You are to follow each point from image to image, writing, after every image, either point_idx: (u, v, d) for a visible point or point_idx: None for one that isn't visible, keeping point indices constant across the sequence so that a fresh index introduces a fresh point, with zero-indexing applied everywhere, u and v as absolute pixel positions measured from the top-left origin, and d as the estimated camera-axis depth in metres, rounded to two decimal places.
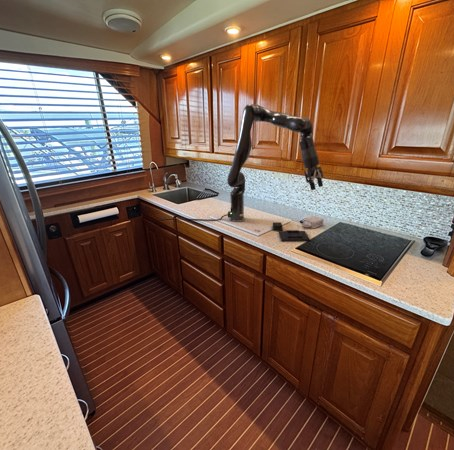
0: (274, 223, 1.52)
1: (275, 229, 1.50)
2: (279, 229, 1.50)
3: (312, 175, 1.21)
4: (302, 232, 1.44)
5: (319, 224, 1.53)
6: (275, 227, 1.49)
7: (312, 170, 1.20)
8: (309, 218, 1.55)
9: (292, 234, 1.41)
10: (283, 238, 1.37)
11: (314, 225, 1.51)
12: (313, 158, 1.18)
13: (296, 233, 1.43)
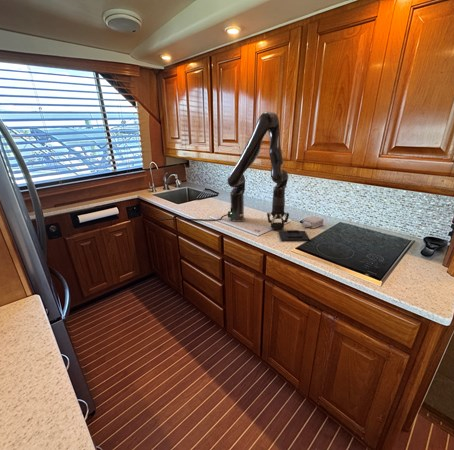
0: (274, 223, 1.52)
1: (275, 229, 1.50)
2: (279, 229, 1.50)
3: (273, 217, 1.49)
4: (302, 232, 1.44)
5: (319, 224, 1.53)
6: (275, 227, 1.49)
7: (273, 213, 1.48)
8: (309, 218, 1.55)
9: (292, 234, 1.41)
10: (283, 238, 1.37)
11: (314, 225, 1.51)
12: (275, 206, 1.44)
13: (296, 233, 1.43)
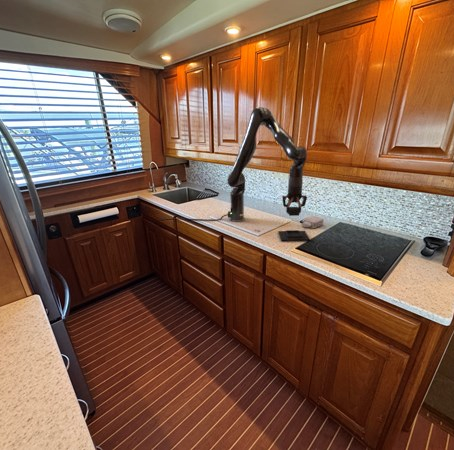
0: (290, 207, 1.37)
1: (291, 214, 1.34)
2: (296, 214, 1.34)
3: (289, 200, 1.34)
4: (302, 232, 1.44)
5: (319, 224, 1.53)
6: (291, 212, 1.34)
7: (289, 196, 1.32)
8: (309, 218, 1.55)
9: (292, 234, 1.41)
10: (283, 238, 1.37)
11: (314, 225, 1.51)
12: (291, 187, 1.29)
13: (296, 233, 1.43)
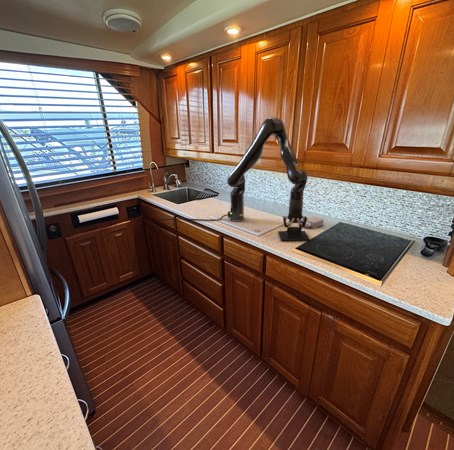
0: (290, 228, 1.40)
1: (292, 234, 1.38)
2: (296, 235, 1.38)
3: (290, 221, 1.37)
4: (302, 232, 1.44)
5: (319, 224, 1.53)
6: (292, 232, 1.37)
7: (290, 217, 1.35)
8: (309, 218, 1.55)
9: None
10: (283, 238, 1.37)
11: (314, 225, 1.51)
12: (292, 209, 1.32)
13: None
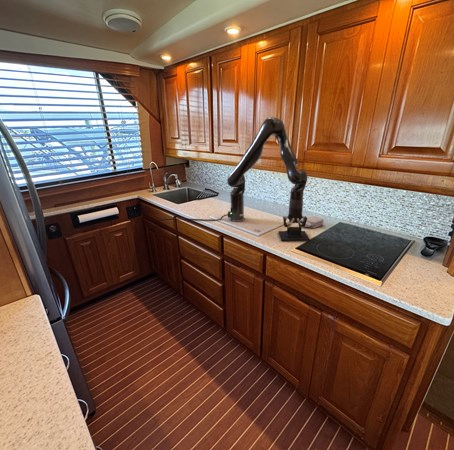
0: (290, 228, 1.40)
1: (292, 234, 1.38)
2: (296, 235, 1.38)
3: (290, 221, 1.37)
4: (302, 232, 1.44)
5: (319, 224, 1.53)
6: (292, 232, 1.37)
7: (290, 217, 1.35)
8: (309, 218, 1.55)
9: None
10: (283, 238, 1.37)
11: (314, 225, 1.51)
12: (292, 209, 1.32)
13: None
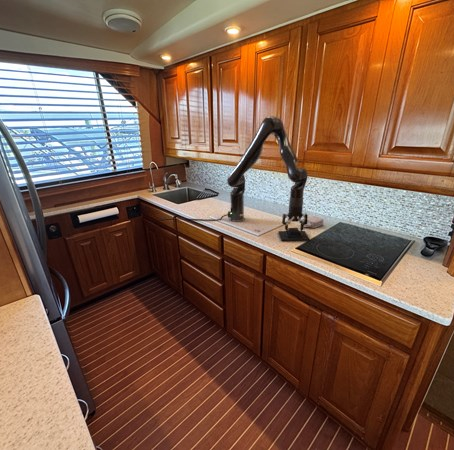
0: (290, 229, 1.40)
1: (291, 235, 1.38)
2: None
3: (290, 219, 1.37)
4: (302, 232, 1.44)
5: (319, 224, 1.53)
6: (291, 233, 1.37)
7: (290, 216, 1.35)
8: (309, 218, 1.55)
9: None
10: (283, 238, 1.37)
11: (314, 225, 1.51)
12: (292, 207, 1.31)
13: None
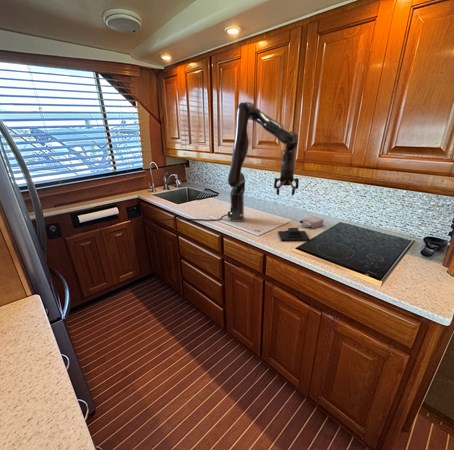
0: (290, 229, 1.40)
1: (291, 235, 1.38)
2: None
3: None
4: (302, 232, 1.44)
5: (319, 224, 1.53)
6: (291, 233, 1.37)
7: (282, 179, 1.39)
8: (309, 218, 1.55)
9: None
10: (283, 238, 1.37)
11: (314, 225, 1.51)
12: (283, 171, 1.36)
13: None
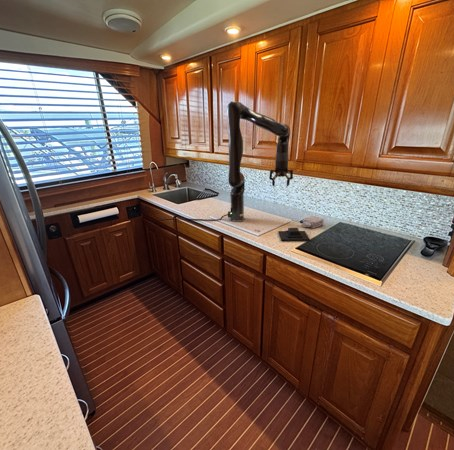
0: (290, 229, 1.40)
1: (291, 235, 1.38)
2: None
3: None
4: (302, 232, 1.44)
5: (319, 224, 1.53)
6: (291, 233, 1.37)
7: (277, 171, 1.45)
8: (309, 218, 1.55)
9: None
10: (283, 238, 1.37)
11: (314, 225, 1.51)
12: (278, 162, 1.42)
13: None
